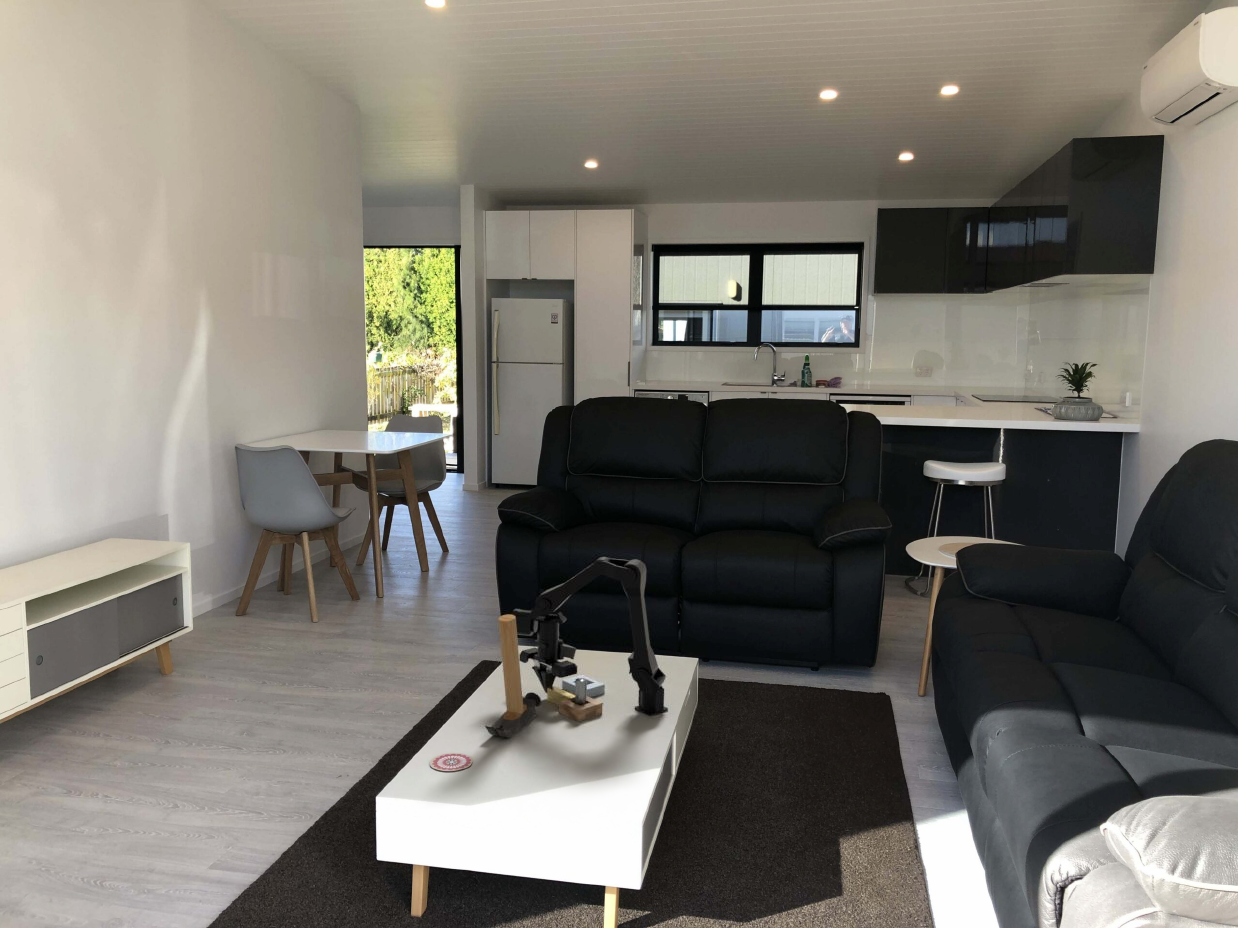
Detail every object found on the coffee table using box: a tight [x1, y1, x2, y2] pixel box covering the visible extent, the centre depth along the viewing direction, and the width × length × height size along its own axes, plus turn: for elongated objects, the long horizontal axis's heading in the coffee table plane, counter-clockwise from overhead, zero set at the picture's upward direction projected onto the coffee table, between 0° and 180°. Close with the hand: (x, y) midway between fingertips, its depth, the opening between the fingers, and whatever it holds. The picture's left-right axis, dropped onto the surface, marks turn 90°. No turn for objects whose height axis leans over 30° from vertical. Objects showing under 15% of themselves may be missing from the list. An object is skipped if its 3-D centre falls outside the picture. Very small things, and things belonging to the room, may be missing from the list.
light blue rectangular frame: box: [561, 674, 606, 698], centre depth 256 cm, size 10×7×2 cm
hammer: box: [485, 614, 542, 739], centre depth 226 cm, size 20×5×30 cm, turn 158°
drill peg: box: [574, 678, 587, 706], centre depth 239 cm, size 3×3×9 cm
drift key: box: [546, 685, 575, 706], centre depth 245 cm, size 10×2×4 cm, turn 42°
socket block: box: [558, 696, 603, 723], centre depth 239 cm, size 8×8×3 cm
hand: (547, 692), depth 250 cm, fingers closed
